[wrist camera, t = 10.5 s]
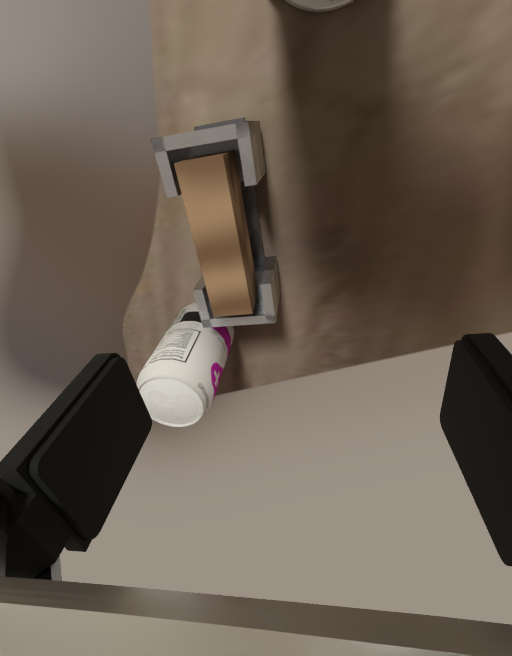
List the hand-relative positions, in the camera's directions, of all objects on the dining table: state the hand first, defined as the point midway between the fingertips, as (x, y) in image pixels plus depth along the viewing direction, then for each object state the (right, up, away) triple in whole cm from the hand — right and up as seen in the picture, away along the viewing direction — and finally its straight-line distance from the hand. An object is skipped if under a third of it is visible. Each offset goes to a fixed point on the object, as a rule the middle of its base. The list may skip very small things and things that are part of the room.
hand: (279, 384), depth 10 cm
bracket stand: (-3, +14, +28) cm, 31 cm away
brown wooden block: (-4, +11, +23) cm, 26 cm away
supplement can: (-8, +2, +36) cm, 37 cm away
